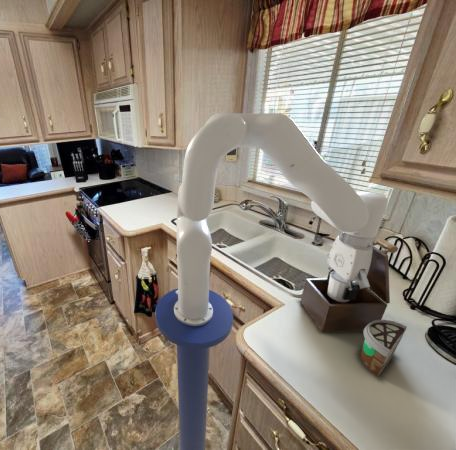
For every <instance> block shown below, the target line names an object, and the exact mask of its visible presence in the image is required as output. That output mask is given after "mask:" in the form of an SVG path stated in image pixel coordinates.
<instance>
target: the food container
mask: <svg viewBox="0 0 456 450" xmlns="http://www.w3.org/2000/svg"><path fill="white" fill-rule="evenodd" d="M407 329H408V326H407V325H406V324H405V325H404V324H402V323H400V322H396V321H393V320H388V319H381V320H375V321H372V322H371V323H369V324H368V325H367V326H366V327H365V329H364V331H363V336H364V341H363V345H362V349H361V351H360V359H361V362H362V364H363V365H364V366H365V367H366V369H368V371H370V373H372V374H373V375H375V376H376V377H379V376H380V374H381V373H382V372H383V371H384V369H385V367H387V365H388V363H389V362H390V360H391V359H392V357H393V356H394V354H395V352H396V350H397V348H398V346H399V344H400V342H401V340H402V338H403V336H404V334H405V332H406V330H407Z"/></svg>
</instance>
